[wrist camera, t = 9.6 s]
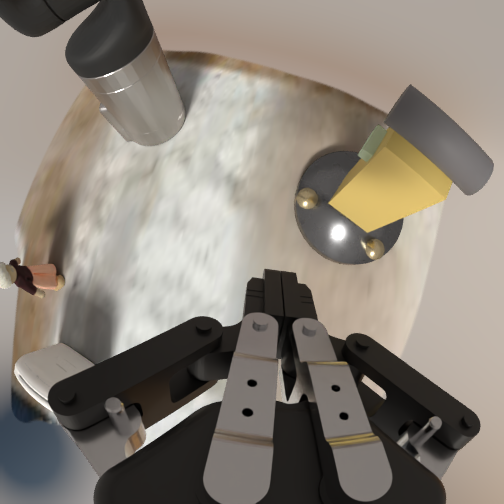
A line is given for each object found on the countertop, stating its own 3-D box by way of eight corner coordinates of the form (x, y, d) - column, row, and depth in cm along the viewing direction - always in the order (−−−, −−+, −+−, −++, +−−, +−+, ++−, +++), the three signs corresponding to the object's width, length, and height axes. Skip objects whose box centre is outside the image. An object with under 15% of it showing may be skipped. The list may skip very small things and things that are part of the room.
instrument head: (370, 238, 34) (486, 195, 14) (319, 200, 35) (396, 111, 14) (387, 208, 35) (497, 146, 14) (339, 170, 35) (418, 72, 14)
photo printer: (113, 374, 35) (68, 405, 23) (106, 395, 35) (63, 429, 23) (61, 337, 36) (8, 353, 24) (55, 359, 36) (5, 379, 23)
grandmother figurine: (73, 277, 37) (15, 276, 24) (64, 299, 36) (7, 305, 24) (42, 253, 37) (-14, 245, 24) (34, 274, 37) (-21, 272, 24)
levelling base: (363, 287, 36) (370, 287, 34) (271, 220, 37) (272, 216, 35) (412, 200, 37) (420, 196, 35) (331, 137, 38) (335, 129, 36)
